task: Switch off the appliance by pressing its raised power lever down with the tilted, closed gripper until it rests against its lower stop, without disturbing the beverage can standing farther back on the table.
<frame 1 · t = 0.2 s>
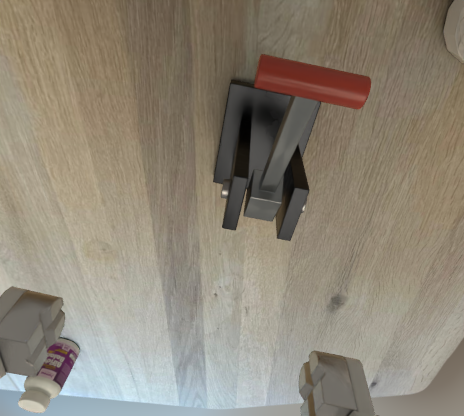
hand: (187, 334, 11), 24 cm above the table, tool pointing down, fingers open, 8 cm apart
switch bracket: (262, 140, 32), on the table
power lever: (280, 155, 19), point 12 cm above the table, hinge at 25.0°
pill bottle: (65, 345, 55), on the table
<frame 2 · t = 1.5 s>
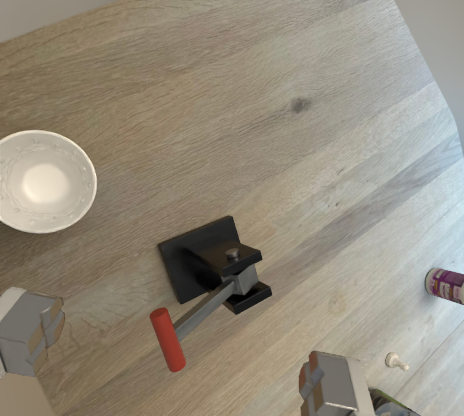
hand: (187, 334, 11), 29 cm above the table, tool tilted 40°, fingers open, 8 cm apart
switch bracket: (204, 257, 42), on the table
power lever: (210, 302, 30), point 12 cm above the table, hinge at 25.0°
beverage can: (368, 401, 59), on the table
pill bottle: (431, 280, 65), on the table
white cup: (49, 182, 34), on the table
chess pawn: (389, 358, 60), on the table
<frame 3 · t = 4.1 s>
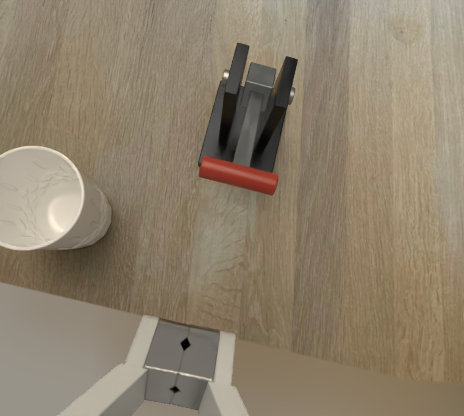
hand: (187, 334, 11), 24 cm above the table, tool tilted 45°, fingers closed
switch bracket: (243, 134, 37), on the table
power lever: (250, 123, 24), point 12 cm above the table, hinge at 25.0°
white cup: (80, 216, 34), on the table
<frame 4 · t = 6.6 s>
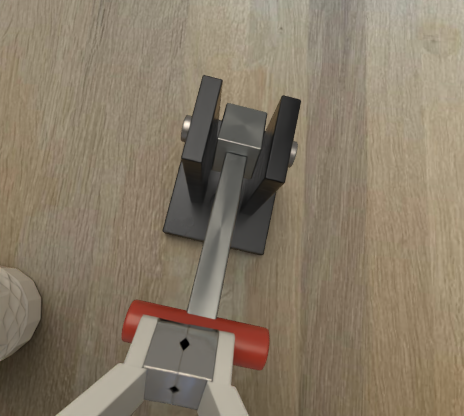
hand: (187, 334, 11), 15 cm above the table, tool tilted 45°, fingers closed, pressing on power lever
switch bracket: (226, 185, 27), on the table
power lever: (223, 212, 15), point 12 cm above the table, hinge at 24.1°, touching gripper
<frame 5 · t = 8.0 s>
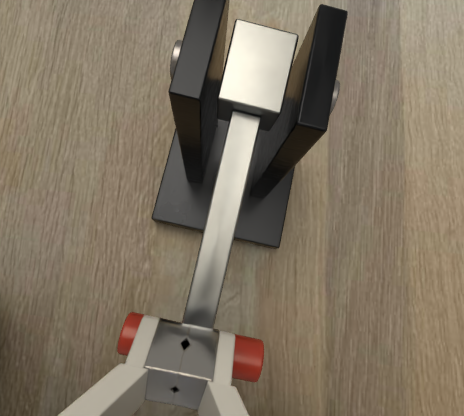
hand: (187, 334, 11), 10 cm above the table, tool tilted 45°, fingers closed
switch bracket: (231, 162, 22), on the table
power lever: (225, 203, 12), point 9 cm above the table, hinge at -9.1°, touching gripper
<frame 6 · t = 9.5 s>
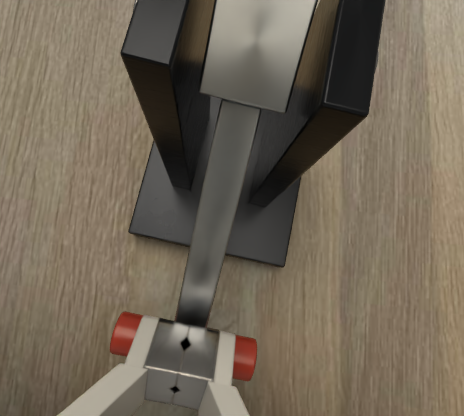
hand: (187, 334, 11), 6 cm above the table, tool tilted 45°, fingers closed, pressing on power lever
switch bracket: (226, 163, 18), on the table
power lever: (216, 210, 10), point 8 cm above the table, hinge at -29.9°, touching gripper
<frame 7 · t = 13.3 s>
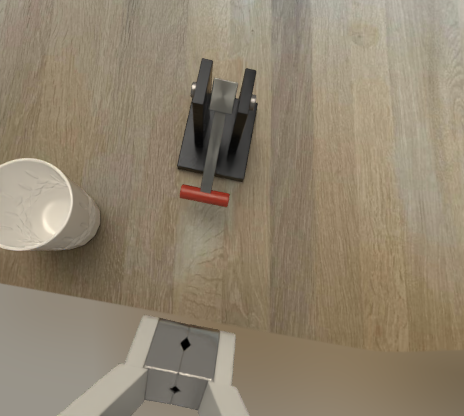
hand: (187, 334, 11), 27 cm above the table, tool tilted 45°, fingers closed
switch bracket: (218, 137, 40), on the table
power lever: (214, 145, 32), point 8 cm above the table, hinge at -29.9°
white cup: (71, 219, 37), on the table
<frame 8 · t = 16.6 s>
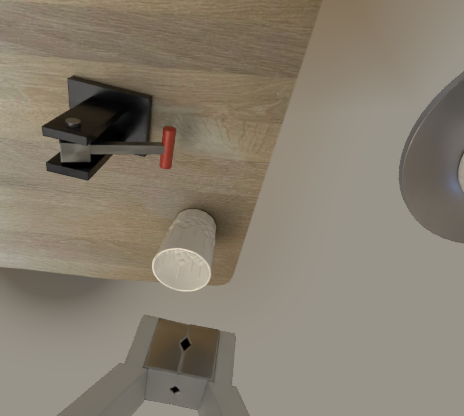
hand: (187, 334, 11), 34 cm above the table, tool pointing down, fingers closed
switch bracket: (112, 116, 43), on the table
power lever: (120, 147, 36), point 8 cm above the table, hinge at -29.9°
white cup: (195, 225, 51), on the table
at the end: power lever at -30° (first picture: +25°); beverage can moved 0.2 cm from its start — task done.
